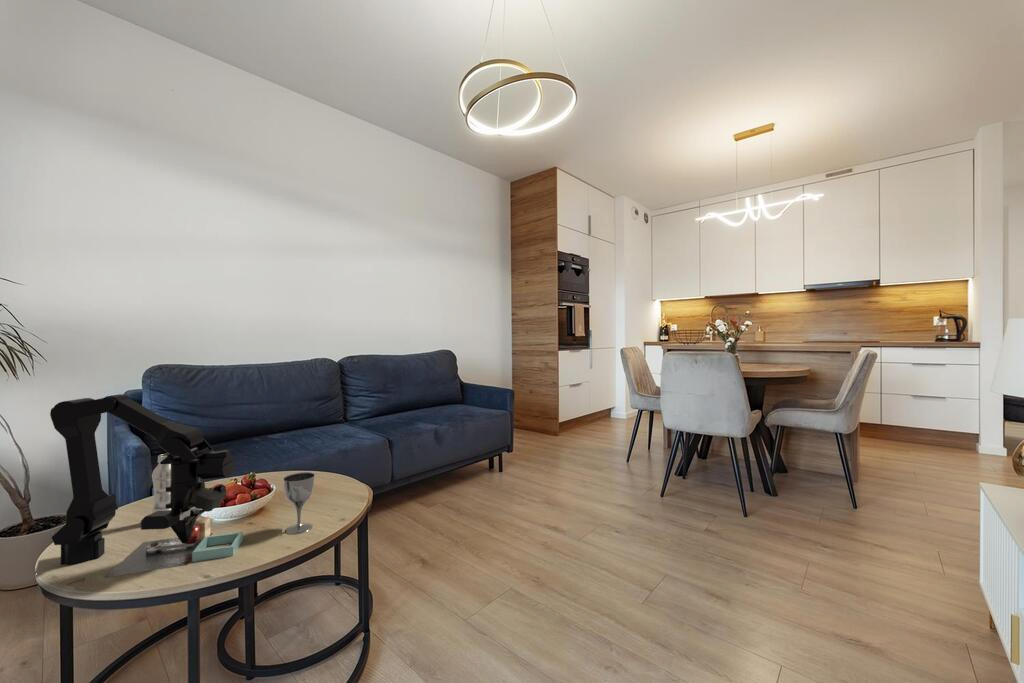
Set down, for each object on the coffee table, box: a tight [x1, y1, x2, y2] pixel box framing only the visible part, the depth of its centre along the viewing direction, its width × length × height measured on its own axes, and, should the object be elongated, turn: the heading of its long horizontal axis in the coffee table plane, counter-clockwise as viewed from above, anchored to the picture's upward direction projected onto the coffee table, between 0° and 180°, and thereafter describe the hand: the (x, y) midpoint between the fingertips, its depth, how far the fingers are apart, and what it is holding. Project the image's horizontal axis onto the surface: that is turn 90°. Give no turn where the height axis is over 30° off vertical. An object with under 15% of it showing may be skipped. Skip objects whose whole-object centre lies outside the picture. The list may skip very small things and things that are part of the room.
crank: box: [146, 525, 200, 554], centre depth 103 cm, size 11×3×5 cm, turn 108°
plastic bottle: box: [151, 453, 171, 514], centre depth 120 cm, size 6×7×20 cm
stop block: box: [194, 516, 211, 543], centre depth 108 cm, size 4×4×5 cm
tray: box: [191, 531, 244, 563], centre depth 103 cm, size 8×8×3 cm
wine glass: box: [282, 471, 315, 535], centre depth 116 cm, size 8×8×15 cm
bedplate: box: [104, 532, 214, 578], centre depth 101 cm, size 15×17×1 cm
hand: (184, 543), depth 101 cm, fingers closed
